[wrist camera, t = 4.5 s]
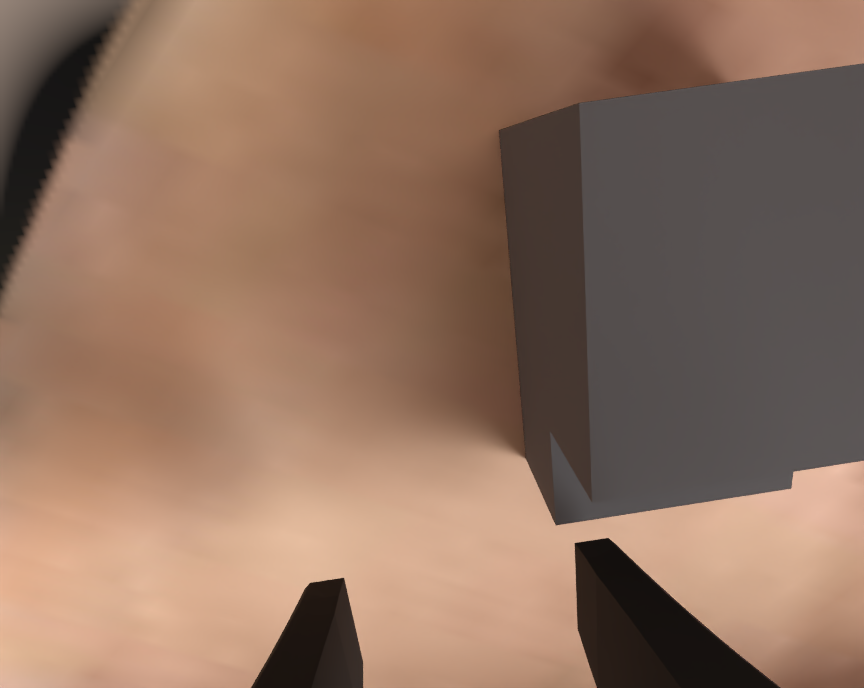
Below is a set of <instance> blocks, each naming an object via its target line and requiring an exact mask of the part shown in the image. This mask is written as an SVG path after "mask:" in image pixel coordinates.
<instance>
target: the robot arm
mask: <svg viewBox="0 0 864 688" xmlns="http://www.w3.org/2000/svg"><path fill="white" fill-rule="evenodd" d="M575 563H576V592H577V620H578V631H579V634H580V637H581V641H582V644H583V647H584V650H585V653H586V656H587V659H588V662H589V665H590V668H591V671H592V674H593V677H594V680H595V683H596V686H597V688H780V687H779V686H778V685H776V684H775V683H774V682H773V681H771V680H770V679H769V678H767V677H766V676H765V675H764V674H762V673H761V672H760V671H759V670H757V669H756V668H755V667H754V666H752V665H751V664H750V663H749V662H747V661H746V660H745V659H744V658H742V657H741V656H740V655H739V654H738V653H736V652H735V651H734V650H733V649H731V648H730V647H729V646H728V645H727V644H725V643H724V642H723V641H722V640H721V639H719V638H718V637H717V636H716V635H715V634H714V633H713V632H711V631H710V630H709V629H708V628H707V627H706V626H704V625H703V624H702V623H701V622H700V621H699V620H697V619H696V618H695V617H694V616H693V615H692V614H690V613H689V612H688V611H687V610H686V609H685V608H684V607H682V606H681V605H680V604H679V603H678V602H677V601H676V600H675V599H674V598H672V597H671V596H670V595H669V594H668V593H667V592H666V591H665V590H664V589H663V588H661V587H660V586H659V585H658V584H657V583H656V582H655V581H654V580H653V579H652V578H651V577H650V576H649V575H647V574H646V573H645V572H644V571H643V570H642V569H641V568H640V567H639V566H638V565H637V564H636V563H635V562H634V561H633V560H632V559H631V558H629V557H628V556H627V555H626V554H625V553H624V552H623V551H622V550H621V549H620V548H619V547H618V546H617V545H616V544H615V543H614V542H612V541H611V540H610V539H609V538H606V539H599V540H593V541H586V542H579V543H575ZM251 688H363V660H362V656H361V651H360V647H359V642H358V638H357V633H356V629H355V625H354V620H353V616H352V611H351V607H350V603H349V598H348V594H347V589H346V585H345V580H344V578H340V579H333V580H327V581H320V582H313V583H310V584H309V585H308V586H307V587H306V588H305V590H304V592H303V594H302V596H301V598H300V600H299V602H298V604H297V606H296V608H295V610H294V611H293V613H292V615H291V617H290V619H289V621H288V623H287V625H286V627H285V629H284V631H283V632H282V634H281V636H280V638H279V640H278V642H277V643H276V645H275V647H274V649H273V651H272V652H271V654H270V656H269V658H268V660H267V661H266V663H265V665H264V667H263V668H262V670H261V672H260V673H259V675H258V677H257V679H256V680H255V682H254V684H253V685H252V687H251Z"/></svg>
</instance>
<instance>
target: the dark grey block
mask: <svg viewBox="0 0 864 688" xmlns="http://www.w3.org/2000/svg"><path fill="white" fill-rule="evenodd" d="M499 137H500V149H501V162H502V174H503V186H504V198H505V210H506V223H507V235H508V247H509V259H510V271H511V284H512V296H513V308H514V320H515V332H516V345H517V357H518V369H519V381H520V394H521V406H522V418H523V430H524V442H525V455H526V460H527V462H528V464H529V467H530V469H531V471H532V473H533V475H534V478H535V480H536V482H537V484H538V487H539V489H540V491H541V493H542V495H543V498H544V500H545V502H546V504H547V507H548V509H549V511H550V513H551V516H552V518H553V520H554V522H555V524H556V525H561V524H567V523H574V522H580V521H586V520H593V519H599V518H606V517H612V516H618V515H625V514H631V513H638V512H644V511H650V510H657V509H663V508H669V507H676V506H682V505H689V504H695V503H701V502H708V501H714V500H721V499H727V498H733V497H740V496H746V495H753V494H759V493H765V492H772V491H778V490H784V489H791V486H792V478H793V471H800V470H806V469H813V468H819V467H826V466H832V465H838V464H845V463H851V462H858V461H864V64H857V65H850V66H842V67H835V68H828V69H821V70H814V71H806V72H799V73H792V74H785V75H778V76H770V77H763V78H756V79H749V80H742V81H734V82H727V83H720V84H713V85H706V86H698V87H691V88H684V89H677V90H670V91H662V92H655V93H648V94H641V95H634V96H626V97H619V98H612V99H605V100H598V101H590V102H583V103H578V104H575V105H572V106H569V107H566V108H563V109H560V110H557V111H554V112H551V113H549V114H546V115H543V116H540V117H537V118H534V119H531V120H528V121H525V122H522V123H519V124H516V125H513V126H510V127H507V128H504V129H501V130H499Z"/></svg>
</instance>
